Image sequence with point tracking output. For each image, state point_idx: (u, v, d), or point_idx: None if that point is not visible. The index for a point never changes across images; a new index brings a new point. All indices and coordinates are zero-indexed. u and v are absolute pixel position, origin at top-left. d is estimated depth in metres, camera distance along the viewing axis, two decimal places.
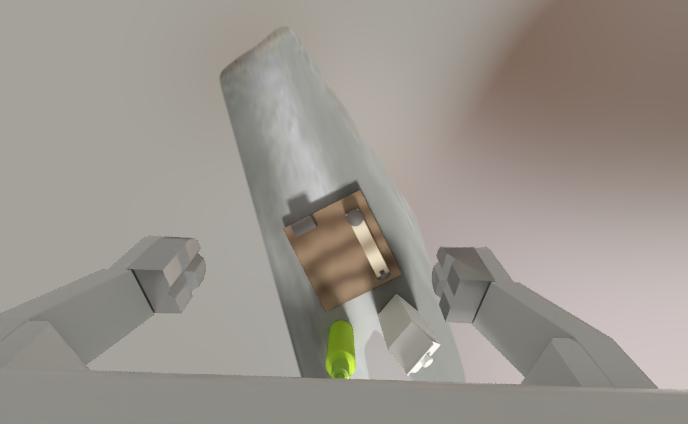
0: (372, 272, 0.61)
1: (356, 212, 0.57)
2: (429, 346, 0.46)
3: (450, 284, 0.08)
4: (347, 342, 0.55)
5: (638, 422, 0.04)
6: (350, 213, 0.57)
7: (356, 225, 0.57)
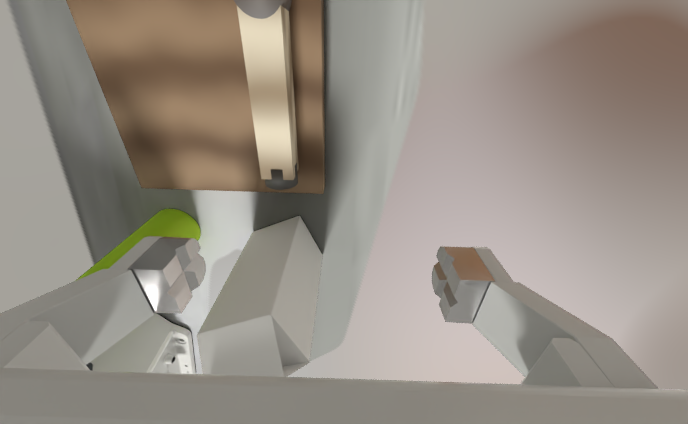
0: None
1: None
2: None
3: (450, 284, 0.08)
4: None
5: (638, 422, 0.04)
6: None
7: (252, 15, 0.18)
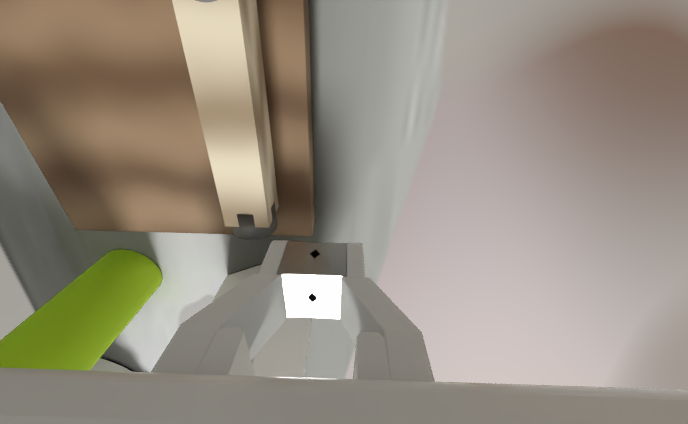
0: None
1: None
2: None
3: None
4: (66, 348, 0.19)
5: (638, 422, 0.04)
6: None
7: None
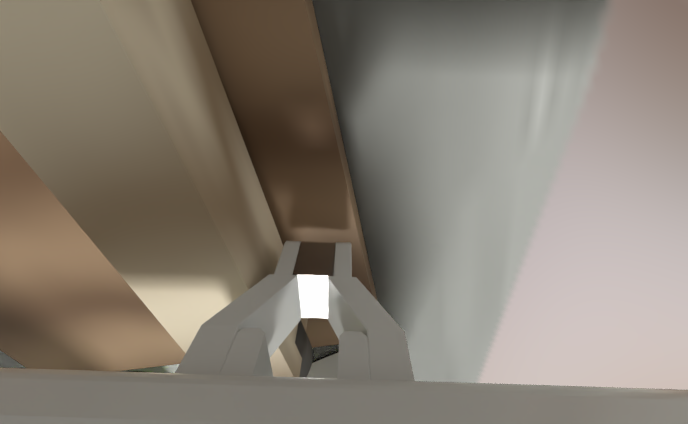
0: None
1: None
2: None
3: None
4: None
5: (638, 422, 0.04)
6: None
7: None
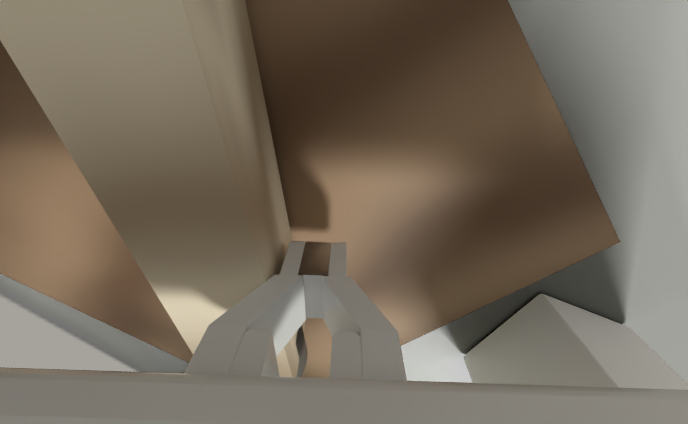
0: (432, 268, 0.11)
1: None
2: None
3: None
4: None
5: (638, 422, 0.04)
6: None
7: None
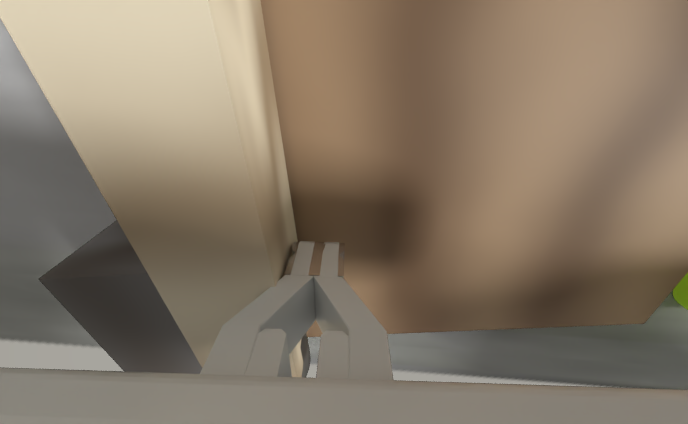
0: None
1: None
2: None
3: None
4: None
5: (638, 422, 0.04)
6: None
7: None
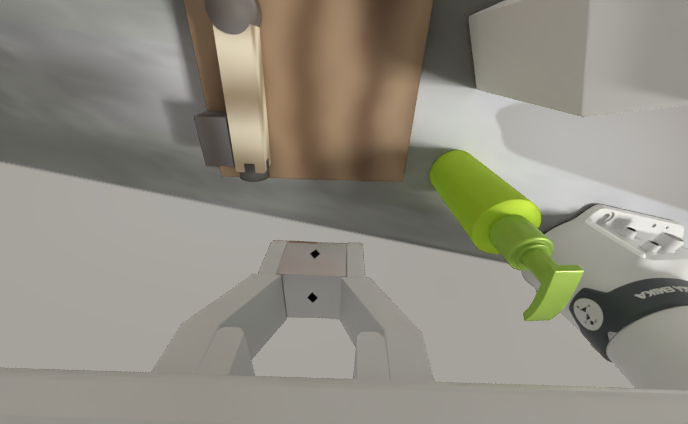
0: (388, 46, 0.25)
1: None
2: None
3: None
4: (479, 185, 0.25)
5: (638, 422, 0.04)
6: None
7: (226, 31, 0.21)
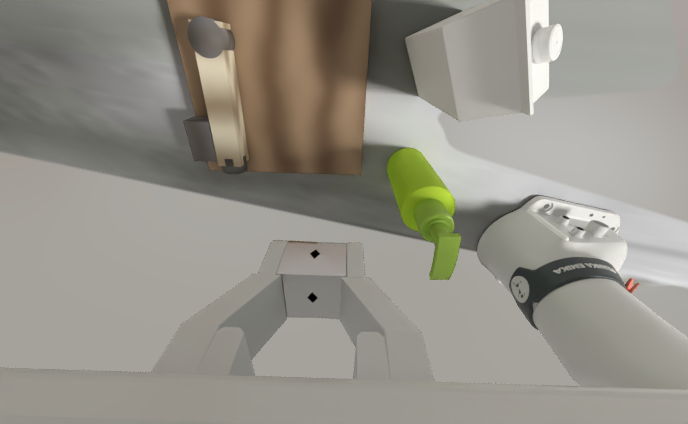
0: (337, 63, 0.31)
1: (212, 26, 0.26)
2: (521, 10, 0.15)
3: None
4: (410, 176, 0.31)
5: (638, 422, 0.04)
6: (198, 22, 0.26)
7: (205, 56, 0.28)
